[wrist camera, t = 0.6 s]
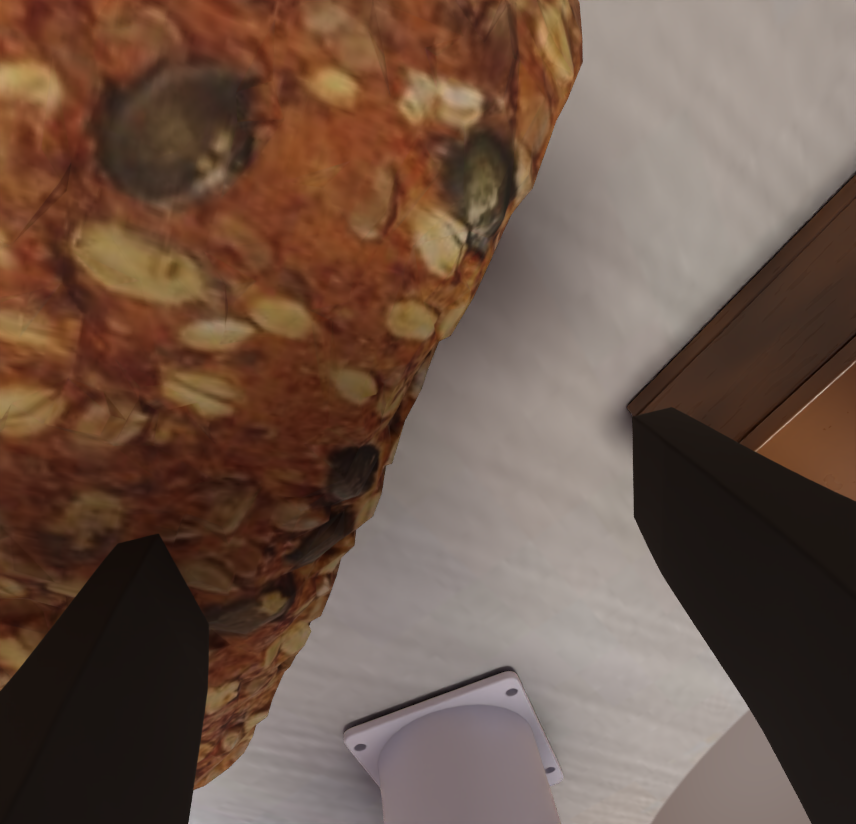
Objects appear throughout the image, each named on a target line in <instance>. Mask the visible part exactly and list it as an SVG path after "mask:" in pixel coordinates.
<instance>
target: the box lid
mask: <svg viewBox="0 0 856 824" xmlns="http://www.w3.org/2000/svg"><path fill="white" fill-rule="evenodd" d="M740 444H742V445H744V446H746V447H748V448H749V449H751V450H753V451H755V452H757V453H759V454H761V455H763V456H765V457H766V458H768V459H770V460H772V461H774V462H776V463H778V464H780V465H782V466H784V467H786V468H788V469H790V470H792V471H794V472H796V473H798V474H800V475H802V476H804V477H805V478H807V479H810V480H812V481H814V482H816V483H818V484H820V485H822V486H824V487H826V488H828V489H830V490H832V491H834V492H837V493H839V494H841V495H843V496H845V497H848V498H850V499H852V500H854V501H856V336H855V337H854V338H853V339H852V340H851V341H850V342H849V343H848V344H846V345H845V346H844V347H843V348H842V349H841V350H840V351H839V352H838V353H837V354H836V355H834V356H833V357H832V358H831V359H830V360H829V361H828V362H827V363H826V364H825V365H824V366H822V367H821V368H820V369H819V370H818V371H817V372H816V373H815V374H814V375H813V376H812V377H810V378H809V379H808V380H807V381H806V382H805V383H804V384H803V385H802V386H801V387H800V388H798V389H797V390H796V391H795V392H794V393H793V394H792V395H791V396H790V397H789V398H788V399H786V400H785V401H784V402H783V403H782V404H781V405H780V406H779V407H778V408H777V409H776V410H774V411H773V412H772V413H771V414H770V415H769V416H768V417H767V418H766V419H765V420H764V421H762V422H761V423H760V424H759V425H758V426H757V427H756V428H755V429H754V430H753V431H752V432H750V433H749V434H748V435H747V436H746V437H745V438H744V439H743V440H742V441H741V442H740Z"/></svg>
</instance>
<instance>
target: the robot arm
mask: <svg viewBox="0 0 856 824" xmlns="http://www.w3.org/2000/svg"><path fill="white" fill-rule="evenodd" d="M632 428H633V488H634V518H635V520H636V522H637V525H638V527H639V529H640V531H641V533H642V535H643V537H644V539H645V541H646V544H647V546H648V548H649V550H650V552H651V554H652V556H653V558H654V560H655V562H656V564H657V566H658V568H659V570H660V572H661V574H662V575H663V577H664V578H665V580H666V581H667V583H668V585H669V586H670V588H671V589H672V591H673V592H674V594H675V595H676V597H677V599H678V600H679V602H680V603H681V605H682V606H683V608H684V609H685V611H686V612H687V614H688V616H689V617H690V619H691V620H692V622H693V623H694V625H695V626H696V628H697V629H698V631H699V632H700V634H701V635H702V637H703V638H704V640H705V641H706V643H707V644H708V646H709V647H710V649H711V650H712V652H713V653H714V655H715V656H716V658H717V659H718V661H719V663H720V664H721V666H722V667H723V669H724V670H725V672H726V673H727V675H728V676H729V678H730V679H731V681H732V682H733V684H734V685H735V687H736V688H737V690H738V691H739V693H740V694H741V696H742V697H743V699H744V700H745V702H746V704H747V705H748V707H749V709H750V710H751V712H752V713H753V715H754V717H755V719H756V720H757V722H758V724H759V725H760V727H761V728H762V730H763V732H764V734H765V736H766V737H767V739H768V741H769V743H770V745H771V747H772V749H773V751H774V753H775V754H776V756H777V758H778V760H779V762H780V764H781V766H782V768H783V769H784V771H785V773H786V775H787V777H788V779H789V781H790V783H791V785H792V786H793V788H794V790H795V792H796V794H797V795H798V798H799V799H800V802H801V803H802V805H803V808H804V809H805V811H806V813H807V815H808V817H809V819H810V821H811V823H812V824H856V501H854V500H852V499H850V498H848V497H845V496H843V495H841V494H839V493H837V492H834V491H832V490H830V489H828V488H826V487H824V486H822V485H820V484H818V483H816V482H814V481H812V480H810V479H807V478H805V477H804V476H802V475H800V474H798V473H796V472H794V471H792V470H790V469H788V468H786V467H784V466H782V465H780V464H778V463H776V462H774V461H772V460H770V459H768V458H766V457H765V456H763V455H761V454H759V453H757V452H755V451H753V450H751V449H749V448H748V447H746V446H744V445H742V444H740V443H738V442H736V441H735V440H733V439H731V438H729V437H727V436H725V435H724V434H722V433H720V432H718V431H716V430H714V429H713V428H711V427H709V426H707V425H705V424H703V423H701V422H700V421H698V420H696V419H694V418H692V417H690V416H688V415H686V414H685V413H683V412H681V411H679V410H677V409H675V408H673V407H669V408H665V409H661V410H657V411H653V412H649V413H645V414H641V415H637V416H633V417H632ZM208 670H209V623H208V622H207V620H206V618H205V616H204V614H203V613H202V611H201V609H200V607H199V605H198V604H197V602H196V600H195V598H194V596H193V595H192V593H191V591H190V589H189V587H188V585H187V584H186V582H185V580H184V578H183V576H182V575H181V573H180V571H179V569H178V567H177V566H176V564H175V562H174V560H173V558H172V557H171V555H170V553H169V551H168V549H167V547H166V546H165V544H164V542H163V540H162V538H161V537H160V535H159V533H158V534H154V535H150V536H146V537H142V538H138V539H134V540H130V541H126V542H122V543H118V544H117V545H116V546H115V547H114V548H113V550H112V551H111V552H110V553H109V554H108V556H107V557H106V558H105V559H104V560H103V562H102V563H101V564H100V566H99V567H98V568H97V569H96V571H95V572H94V573H93V574H92V576H91V577H90V578H89V580H88V581H87V582H86V584H85V585H84V586H83V587H82V589H81V590H80V591H79V593H78V594H77V595H76V597H75V598H74V599H73V600H72V602H71V603H70V604H69V606H68V607H67V608H66V610H65V611H64V612H63V613H62V615H61V616H60V617H59V619H58V620H57V621H56V622H55V624H54V625H53V626H52V628H51V629H50V630H49V631H48V633H47V634H46V635H45V636H44V638H43V639H42V640H41V642H40V643H39V644H38V645H37V647H36V648H35V649H34V651H33V652H32V653H31V654H30V656H29V657H28V658H27V659H26V661H25V662H24V663H23V665H22V666H21V667H20V668H19V669H18V671H17V672H16V673H15V674H14V675H13V677H12V678H11V679H10V680H9V681H8V683H7V684H6V685H5V686H4V687H3V688H2V690H1V691H0V824H188V822H189V815H190V808H191V802H192V795H193V789H194V782H195V775H196V769H197V762H198V756H199V749H200V742H201V735H202V728H203V721H204V715H205V708H206V700H207V692H208ZM344 743H345V745H346V746H347V748H348V749H349V750H350V751H351V753H352V754H353V755H354V756H355V758H356V759H357V760H358V761H359V763H360V764H361V765H362V766H363V768H364V769H365V770H366V771H367V773H368V774H369V775H370V776H371V778H372V779H373V780H374V781H375V783H376V784H377V785H378V786H379V788H380V789H381V798H382V808H383V818H384V824H561V821H560V818H559V815H558V812H557V808H556V805H555V802H554V799H553V796H552V792H551V789H550V786H552V785H555V784H558V783H560V782H561V781H562V780H563V778H564V775H563V772H562V769H561V767H560V765H559V763H558V761H557V759H556V756H555V754H554V752H553V750H552V748H551V746H550V744H549V741H548V739H547V737H546V735H545V733H544V731H543V729H542V726H541V724H540V722H539V720H538V718H537V716H536V714H535V711H534V709H533V707H532V705H531V703H530V701H529V699H528V696H527V694H526V692H525V690H524V688H523V686H522V684H521V681H520V679H519V677H518V675H517V674H516V673H515V672H512V671H506V672H502V673H499V674H497V675H494V676H491V677H489V678H486V679H483V680H480V681H478V682H475V683H472V684H469V685H467V686H464V687H461V688H459V689H456V690H453V691H450V692H448V693H445V694H442V695H439V696H437V697H434V698H431V699H428V700H426V701H423V702H420V703H418V704H415V705H412V706H409V707H407V708H404V709H401V710H398V711H396V712H393V713H390V714H388V715H385V716H382V717H379V718H377V719H374V720H371V721H368V722H366V723H363V724H360V725H357V726H355V727H352V728H350V729H348V730H347V731H346V732H345V733H344Z"/></svg>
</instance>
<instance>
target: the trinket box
mask: <svg viewBox="0 0 856 824" xmlns="http://www.w3.org/2000/svg"><path fill="white" fill-rule="evenodd" d="M855 336H856V175H855V176H854V177H853V178H852V179H851V180H850V181H849V182H848V183H847V184H846V185H845V186H844V187H843V188H842V189H841V190H840V191H839V192H838V193H837V194H836V195H835V196H834V197H833V198H832V199H831V200H830V201H829V202H828V203H827V204H826V205H825V206H824V207H823V208H822V209H821V210H820V211H819V212H818V213H817V214H816V215H815V216H814V217H813V218H812V219H811V220H810V221H809V222H808V223H807V224H806V225H805V226H804V227H803V228H802V229H801V230H800V231H799V232H798V233H797V234H796V235H795V237H794V238H793V239H792V240H791V241H790V242H789V243H788V244H787V245H786V246H785V247H784V248H783V249H782V250H781V251H780V252H779V253H778V254H777V255H776V256H775V257H774V258H773V259H772V260H771V261H770V262H769V263H768V264H767V265H766V266H765V267H764V268H763V269H762V270H761V271H760V272H759V273H758V274H757V275H756V276H755V277H754V278H753V279H752V280H751V281H750V282H749V283H748V284H747V285H746V286H745V287H744V288H743V289H742V290H741V291H740V292H739V293H738V294H737V295H736V296H735V297H734V298H733V299H732V300H731V301H730V302H729V303H728V304H727V305H726V306H725V308H724V309H723V310H722V311H721V312H720V313H719V314H718V315H717V316H716V317H715V318H714V319H713V320H712V321H711V322H710V323H709V324H708V325H707V326H706V327H705V328H704V329H703V330H702V331H701V332H700V333H699V334H698V335H697V336H696V337H695V338H694V339H693V340H692V341H691V342H690V343H689V344H688V345H687V346H686V347H685V348H684V349H683V350H682V351H681V352H680V353H679V354H678V355H677V356H676V357H675V358H674V359H673V360H672V361H671V362H670V363H669V364H668V365H667V366H666V367H665V368H664V369H663V370H662V371H661V372H660V373H659V374H658V375H657V376H656V378H655V379H654V380H653V381H652V382H651V383H650V384H649V385H648V386H647V387H646V388H645V389H644V390H643V391H642V392H641V393H640V394H639V395H638V396H637V397H636V398H635V399H634V400H633V401H632V402H631V403H630V404H629V405H628V406H627V409H628V410H629V412H630V413H631V414H632V416H637V415H641V414H645V413H649V412H653V411H657V410H661V409H665V408H669V407H673V408H675V409H677V410H679V411H681V412H683V413H685V414H686V415H688V416H690V417H692V418H694V419H696V420H698V421H700V422H701V423H703V424H705V425H707V426H709V427H711V428H713V429H714V430H716V431H718V432H720V433H722V434H724V435H725V436H727V437H729V438H731V439H733V440H735V441H736V442H738V443H740V442H741V441H742V440H743V439H744V438H745V437H746V436H747V435H748V434H749V433H750V432H752V431H753V430H754V429H755V428H756V427H757V426H758V425H759V424H760V423H761V422H762V421H764V420H765V419H766V418H767V417H768V416H769V415H770V414H771V413H772V412H773V411H774V410H776V409H777V408H778V407H779V406H780V405H781V404H782V403H783V402H784V401H785V400H786V399H788V398H789V397H790V396H791V395H792V394H793V393H794V392H795V391H796V390H797V389H798V388H800V387H801V386H802V385H803V384H804V383H805V382H806V381H807V380H808V379H809V378H810V377H812V376H813V375H814V374H815V373H816V372H817V371H818V370H819V369H820V368H821V367H822V366H824V365H825V364H826V363H827V362H828V361H829V360H830V359H831V358H832V357H833V356H834V355H836V354H837V353H838V352H839V351H840V350H841V349H842V348H843V347H844V346H845V345H846V344H848V343H849V342H850V341H851V340H852V339H853V338H854V337H855Z"/></svg>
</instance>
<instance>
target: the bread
mask: <svg viewBox="0 0 856 824" xmlns="http://www.w3.org/2000/svg"><path fill="white" fill-rule="evenodd" d="M582 62H583V59H582V28H581V16H580V4H579V1H578V0H0V691H1V690H2V688H3V687H4V686H5V685H6V684H7V683H8V681H9V680H10V679H11V678H12V677H13V675H14V674H15V673H16V672H17V671H18V669H19V668H20V667H21V666H22V665H23V663H24V662H25V661H26V659H27V658H28V657H29V656H30V654H31V653H32V652H33V651H34V649H35V648H36V647H37V645H38V644H39V643H40V642H41V640H42V639H43V638H44V636H45V635H46V634H47V633H48V631H49V630H50V629H51V628H52V626H53V625H54V624H55V622H56V621H57V620H58V619H59V617H60V616H61V615H62V613H63V612H64V611H65V610H66V608H67V607H68V606H69V604H70V603H71V602H72V600H73V599H74V598H75V597H76V595H77V594H78V593H79V591H80V590H81V589H82V587H83V586H84V585H85V584H86V582H87V581H88V580H89V578H90V577H91V576H92V574H93V573H94V572H95V571H96V569H97V568H98V567H99V566H100V564H101V563H102V562H103V560H104V559H105V558H106V557H107V556H108V554H109V553H110V552H111V551H112V550H113V548H114V547H115V546H116V545H117V544H118V543H122V542H126V541H130V540H134V539H138V538H142V537H146V536H150V535H154V534H158V533H159V535H160V537H161V538H162V540H163V542H164V544H165V546H166V547H167V549H168V551H169V553H170V555H171V557H172V558H173V560H174V562H175V564H176V566H177V567H178V569H179V571H180V573H181V575H182V576H183V578H184V580H185V582H186V584H187V585H188V587H189V589H190V591H191V593H192V595H193V596H194V598H195V600H196V602H197V604H198V605H199V607H200V609H201V611H202V613H203V614H204V616H205V618H206V620H207V622H208V623H209V670H208V692H207V700H206V708H205V715H204V721H203V728H202V735H201V742H200V749H199V756H198V762H197V769H196V775H195V782H194V789H193V790H195V789H197V788H200V787H203V786H205V785H206V784H208V783H209V782H210V781H212V780H213V779H214V778H216V777H217V776H218V775H220V774H221V773H223V772H224V771H225V770H227V769H228V768H229V767H230V766H231V765H232V764H233V763H234V762H235V761H236V760H237V759H238V758H239V757H240V756H241V755H242V754H243V753H244V752H245V750H246V748H247V746H248V744H249V742H250V740H251V738H252V736H253V734H254V730H255V727H256V724H258V723H259V722H261V721H262V720H263V719H265V718H266V717H267V716H268V713H269V709H270V706H271V702H272V699H273V696H274V694H275V692H276V690H277V687H278V685H279V683H280V680H281V678H282V676H283V674H284V672H285V671H286V670H287V669H288V668H289V667H290V666H291V664H292V662H293V660H294V658H295V656H296V655H297V654H298V652H299V651H300V650H301V649H302V648H303V646H304V645H305V643H306V641H307V639H308V637H309V635H310V633H311V630H310V627H309V625H310V622H311V621H312V620H314V619H316V618H318V617H320V616H321V614H322V612H323V609H324V607H325V605H326V602H327V600H328V597H329V595H330V592H331V590H332V587H333V584H334V581H335V578H336V576H337V572H338V568H339V564H340V560H341V558H342V557H343V556H344V555H345V554H346V553H347V552H348V551H349V550H350V549H351V548H352V547H353V546H354V545H355V535H356V529H357V528H359V527H360V526H361V525H362V524H364V523H365V522H366V521H367V520H369V519H370V518H371V517H372V516H373V515H374V512H375V509H376V507H377V504H378V501H379V499H380V496H381V493H382V488H383V481H384V475H385V469H386V465H389V464H392V462H393V459H394V455H395V452H396V449H397V445H398V442H399V439H400V436H401V432H402V429H403V426H404V422H405V419H406V418H407V416H408V414H409V412H410V410H411V408H412V406H413V404H414V402H415V401H416V399H417V397H418V395H419V393H420V391H421V389H422V386H423V383H424V380H425V377H426V374H427V371H428V368H429V365H430V363H431V360H432V358H433V355H434V353H435V350H436V348H437V345H438V343H439V341H441V340H443V339H445V338H447V337H449V336H451V334H452V333H453V331H454V329H455V328H456V326H457V324H458V323H459V321H460V319H461V318H462V316H463V314H464V312H465V311H466V309H467V307H468V306H469V304H470V302H471V301H472V299H473V297H474V295H475V293H476V291H477V289H478V287H479V284H480V282H481V280H482V278H483V276H484V274H485V271H486V269H487V267H488V265H489V263H490V261H491V258H492V256H493V254H494V251H495V249H496V247H497V245H498V242H499V240H500V238H501V236H502V234H503V231H504V229H505V227H506V225H507V223H508V220H509V218H510V216H511V214H512V213H513V211H514V210H515V209H516V208H517V206H518V205H519V204H520V203H521V201H522V200H523V199H524V198H525V197H526V195H527V194H528V193H529V192H530V191H531V189H532V188H533V186H534V183H535V180H536V177H537V174H538V171H539V168H540V166H541V163H542V160H543V157H544V154H545V151H546V149H547V146H548V143H549V140H550V137H551V134H552V131H553V129H554V126H555V123H556V120H557V118H558V116H559V114H560V113H561V111H562V109H563V107H564V105H565V103H566V101H567V99H568V97H569V94H570V92H571V89H572V87H573V84H574V82H575V79H576V77H577V74H578V72H579V70H580V67H581V65H582Z"/></svg>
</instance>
